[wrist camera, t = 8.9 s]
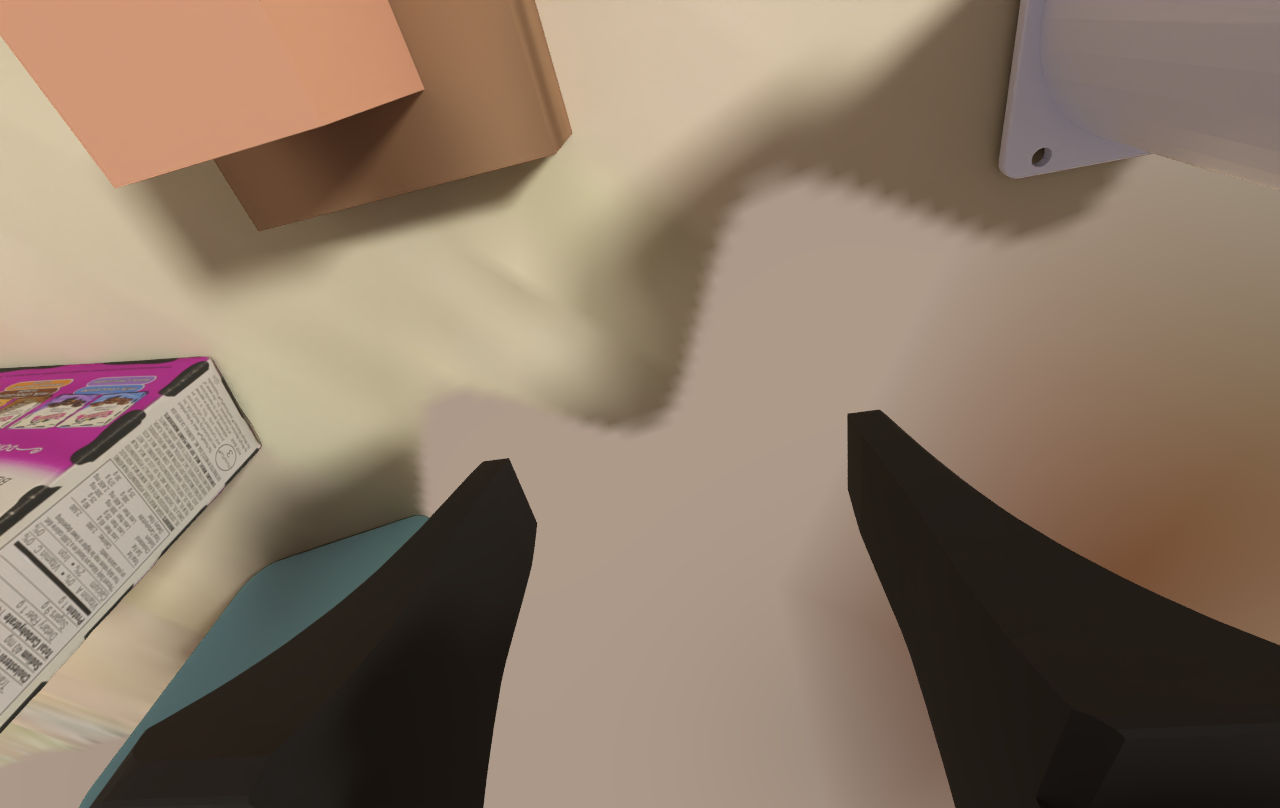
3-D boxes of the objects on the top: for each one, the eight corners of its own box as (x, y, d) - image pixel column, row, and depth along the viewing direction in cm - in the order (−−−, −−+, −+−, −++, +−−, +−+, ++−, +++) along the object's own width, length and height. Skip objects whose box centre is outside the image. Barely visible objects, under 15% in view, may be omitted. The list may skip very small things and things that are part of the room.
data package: (315, 615, 32) (156, 882, 22) (255, 566, 30) (48, 839, 20) (492, 564, 29) (397, 852, 19) (439, 504, 27) (300, 795, 17)
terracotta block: (323, -157, 11) (132, -243, 7) (424, 89, 14) (323, 125, 10) (142, -84, 12) (-121, -126, 8) (268, 136, 15) (115, 188, 11)
